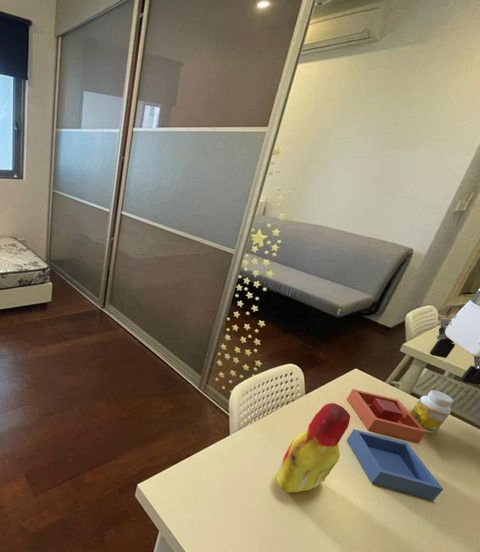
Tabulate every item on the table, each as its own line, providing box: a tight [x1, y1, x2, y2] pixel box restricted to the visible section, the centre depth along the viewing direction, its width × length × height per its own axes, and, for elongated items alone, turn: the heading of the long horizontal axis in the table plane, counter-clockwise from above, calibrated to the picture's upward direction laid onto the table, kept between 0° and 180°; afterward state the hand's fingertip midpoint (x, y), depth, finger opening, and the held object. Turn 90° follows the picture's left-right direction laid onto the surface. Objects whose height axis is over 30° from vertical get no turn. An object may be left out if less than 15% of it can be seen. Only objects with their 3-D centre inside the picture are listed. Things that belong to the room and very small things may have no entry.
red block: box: [369, 398, 403, 423], centre depth 80 cm, size 4×4×4 cm
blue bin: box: [346, 428, 444, 502], centre depth 68 cm, size 11×11×4 cm
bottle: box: [276, 402, 351, 493], centre depth 59 cm, size 12×6×20 cm, turn 112°
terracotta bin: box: [346, 388, 428, 444], centre depth 80 cm, size 11×11×4 cm
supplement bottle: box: [409, 389, 454, 434], centre depth 79 cm, size 5×5×10 cm
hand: (452, 368), depth 74 cm, fingers open, 9 cm apart
